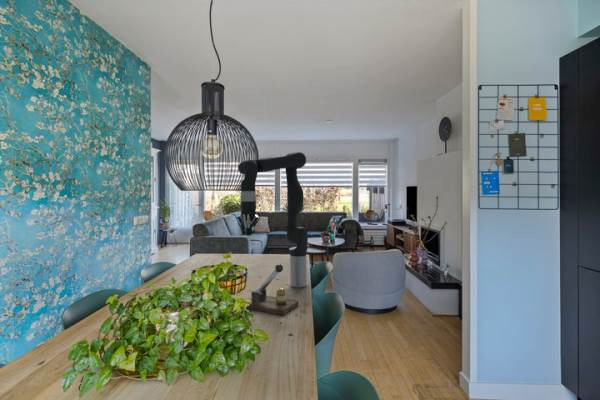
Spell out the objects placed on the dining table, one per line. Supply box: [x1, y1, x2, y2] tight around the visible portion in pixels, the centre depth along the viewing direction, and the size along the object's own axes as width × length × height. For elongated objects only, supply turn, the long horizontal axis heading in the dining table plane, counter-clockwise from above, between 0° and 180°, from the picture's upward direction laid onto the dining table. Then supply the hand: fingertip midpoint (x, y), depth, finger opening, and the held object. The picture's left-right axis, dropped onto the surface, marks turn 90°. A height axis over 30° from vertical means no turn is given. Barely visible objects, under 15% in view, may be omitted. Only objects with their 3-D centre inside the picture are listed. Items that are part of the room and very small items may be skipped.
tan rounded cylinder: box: [275, 287, 287, 305], centre depth 140 cm, size 4×4×7 cm
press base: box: [246, 288, 299, 316], centre depth 142 cm, size 14×22×6 cm, turn 63°
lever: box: [254, 263, 284, 295], centre depth 143 cm, size 4×4×20 cm
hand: (248, 235), depth 155 cm, fingers closed
